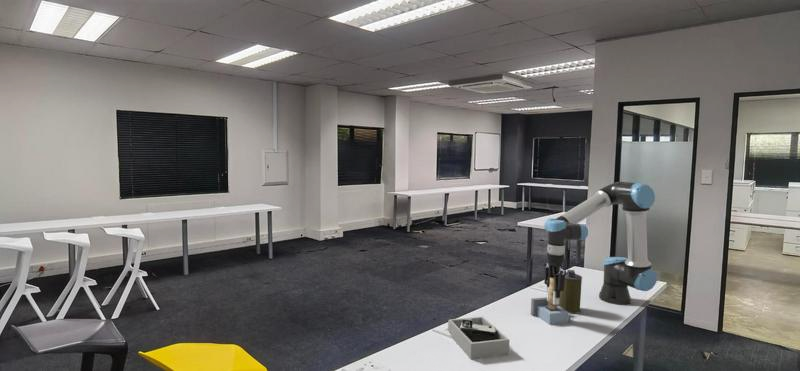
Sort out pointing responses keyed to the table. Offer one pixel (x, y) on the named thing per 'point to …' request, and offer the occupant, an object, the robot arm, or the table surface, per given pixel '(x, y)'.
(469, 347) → the tray
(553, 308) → the dowel
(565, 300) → the canister
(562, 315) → the block
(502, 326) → the table surface
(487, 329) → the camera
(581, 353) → the table surface
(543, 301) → the wall
